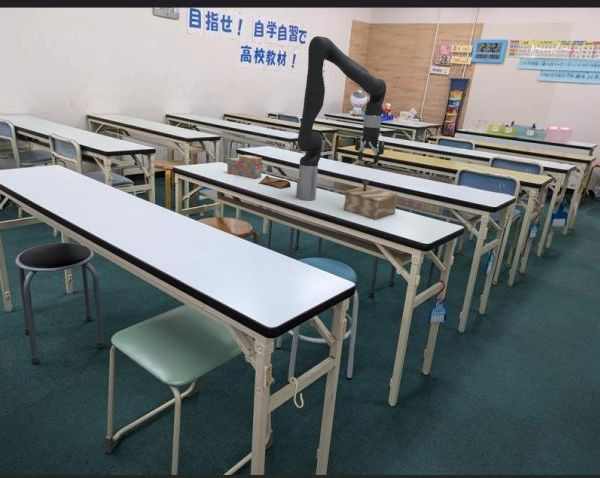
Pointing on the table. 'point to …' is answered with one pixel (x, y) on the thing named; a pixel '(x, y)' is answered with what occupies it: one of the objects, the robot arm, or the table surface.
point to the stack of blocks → (245, 166)
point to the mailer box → (369, 207)
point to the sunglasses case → (275, 182)
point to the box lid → (371, 193)
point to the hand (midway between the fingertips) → (367, 161)
